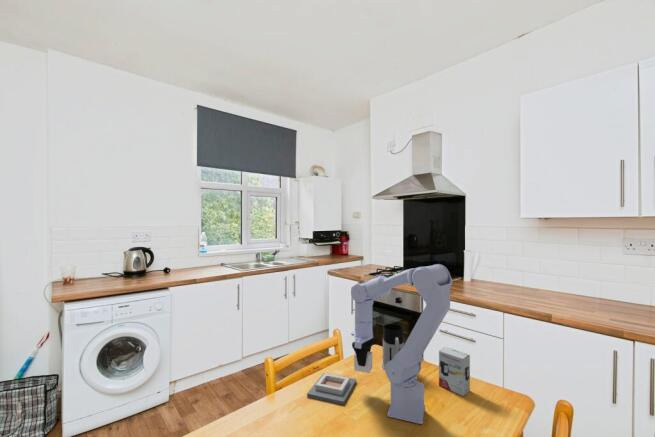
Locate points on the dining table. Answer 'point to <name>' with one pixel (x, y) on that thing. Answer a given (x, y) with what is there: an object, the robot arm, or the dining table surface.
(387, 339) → the glass holder
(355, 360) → the plug
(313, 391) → the socket dock
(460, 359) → the ink box
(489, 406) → the dining table surface
